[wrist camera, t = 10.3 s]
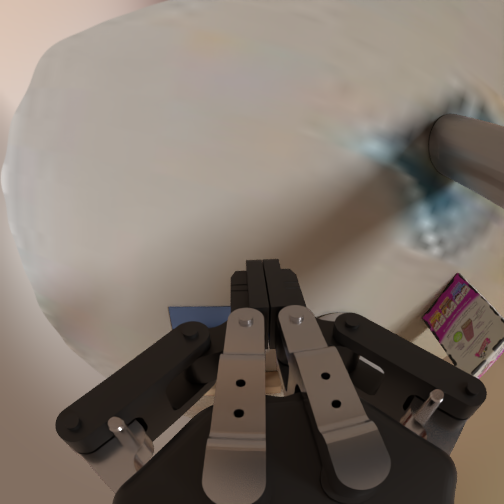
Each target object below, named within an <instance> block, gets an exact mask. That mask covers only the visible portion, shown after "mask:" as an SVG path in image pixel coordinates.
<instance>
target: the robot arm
mask: <svg viewBox="0 0 504 504" xmlns="http://www.w3.org/2000/svg"><path fill="white" fill-rule="evenodd" d="M429 153H430V157H431V161H432V163H433V165H434V167H435V168H436V170H437V171H438V172H439V173H441V174H442V175H444V176H446V177H448V178H450V179H452V180H454V181H456V182H458V183H460V184H461V185H463V186H465V187H467V188H469V189H471V190H472V191H474V192H476V193H478V194H480V195H481V196H483V197H485V198H487V199H488V200H490V201H492V202H493V203H495V204H497V205H498V206H500V207H502V208H503V209H504V126H500V125H497V124H493V123H490V122H486V121H482V120H478V119H474V118H470V117H466V116H461V115H457V114H446V115H444V116H442V117H440V118H439V119H438V120H437V121H436V123H435V125H434V126H433V128H432V131H431V134H430V139H429ZM268 340H269V348H270V349H276V366H277V370H278V374H279V377H280V381H281V385H282V389H283V393H284V397H277V396H269V395H265V349H268ZM360 356H362V357H363V358H365V359H367V360H368V361H370V362H372V363H373V364H375V365H377V366H378V367H380V368H381V369H382V370H383V372H384V373H382V372H380V371H379V370H377V369H375V368H374V367H372V366H370V365H369V364H367V363H365V362H364V361H362V360H360V359H359V358H360ZM216 381H217V382H216ZM215 383H216V389H215V397H214V405H212V406H210V407H208V408H206V409H204V410H202V411H201V412H199V413H198V414H197V415H195V416H194V417H193V418H192V419H191V420H190V421H189V422H188V423H187V424H186V425H185V426H184V427H183V428H182V429H181V430H180V431H179V432H178V433H177V434H176V435H175V436H174V437H173V438H172V439H171V440H170V441H169V442H168V443H167V444H166V445H165V446H164V447H163V448H162V449H161V450H160V451H159V452H158V453H157V454H155V456H153V457H152V455H153V453H154V445H153V441H154V440H155V439H156V438H157V437H159V436H160V435H161V434H162V433H163V432H164V431H165V430H166V429H168V428H169V427H170V426H171V425H172V424H173V423H174V422H175V421H176V420H178V419H179V418H180V417H181V416H182V415H183V414H184V413H185V412H186V411H187V410H189V409H190V408H191V407H192V406H193V405H194V404H195V403H196V402H197V401H198V400H199V399H200V398H201V397H202V396H203V395H205V394H206V393H207V392H208V391H209V390H210V389H211V388H212V387H213V386H214V385H215ZM486 393H487V392H486V388H485V386H484V384H483V383H482V382H481V381H480V380H479V379H478V378H476V377H474V376H472V375H470V374H469V373H467V372H465V371H463V370H461V369H459V368H457V367H456V366H454V365H452V364H450V363H448V362H446V361H444V360H443V359H441V358H439V357H437V356H435V355H433V354H431V353H430V352H428V351H426V350H424V349H422V348H420V347H418V346H417V345H415V344H413V343H411V342H409V341H407V340H405V339H404V338H402V337H400V336H398V335H396V334H394V333H392V332H391V331H389V330H387V329H385V328H383V327H381V326H380V325H378V324H376V323H374V322H372V321H370V320H368V319H367V318H365V317H363V316H361V315H359V314H356V313H344V314H341V315H339V316H338V317H337V318H336V319H335V321H328V320H322V319H319V318H316V317H315V316H314V314H313V313H312V311H311V310H310V309H308V308H306V304H305V301H304V298H303V295H302V292H301V289H300V286H299V283H298V279H297V276H296V274H295V273H294V272H293V271H291V270H290V269H281V268H280V264H279V260H278V259H265V260H246V271H235V273H234V274H233V275H232V277H231V313H230V315H229V317H228V320H227V321H226V322H224V323H223V324H221V325H219V326H216V327H212V328H208V327H207V326H206V325H205V324H203V323H201V322H197V321H189V322H185V323H182V324H180V325H179V326H177V327H176V328H174V329H173V330H172V331H170V332H169V333H168V334H166V335H165V336H164V337H162V338H161V339H160V340H158V341H157V342H156V343H154V344H153V345H152V346H150V347H149V348H148V349H146V350H145V351H144V352H142V353H141V354H140V355H138V356H137V357H136V358H134V359H133V360H132V361H130V362H129V363H127V364H126V365H125V366H123V367H122V368H121V369H119V370H118V371H117V372H115V373H114V374H113V375H111V376H110V377H108V378H107V379H106V380H104V381H103V382H102V383H100V384H99V385H97V386H96V387H95V388H93V389H92V390H91V391H89V392H88V393H86V394H85V395H84V396H82V397H81V398H80V399H78V400H77V401H75V402H74V403H73V404H71V405H70V406H69V407H67V408H66V409H64V410H63V411H62V412H61V413H60V414H59V416H58V417H57V420H56V431H57V433H58V435H59V436H60V437H61V438H62V439H63V440H64V441H65V442H66V443H67V444H68V445H69V446H70V448H71V449H72V450H73V451H74V452H75V453H77V454H78V455H79V456H80V457H81V458H82V459H84V460H85V461H86V462H87V463H88V464H89V465H90V466H91V467H92V469H93V470H94V471H95V472H96V473H97V474H98V476H99V477H100V478H101V479H102V480H103V481H104V482H105V483H106V484H107V486H108V487H109V488H110V489H111V490H112V491H113V492H114V493H115V497H114V499H113V504H454V496H455V489H456V483H457V471H456V467H455V464H454V462H453V460H452V459H451V457H450V454H451V452H452V450H453V448H454V446H455V444H456V442H457V440H458V438H459V436H460V434H461V431H462V429H463V427H464V425H465V423H466V421H467V420H468V419H469V418H470V417H471V416H472V415H473V414H474V413H475V411H476V410H477V409H478V408H479V407H480V406H481V404H482V403H483V402H484V401H485V399H486V395H487V394H486ZM151 457H152V458H151ZM150 458H151V459H150Z"/></svg>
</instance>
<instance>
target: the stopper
mask: <svg viewBox="0 0 504 504" xmlns="http://www.w3.org/2000/svg"><path fill="white" fill-rule="evenodd" d="M216 382H217V381H216ZM215 389H216V383H215V385H214V386H213V387H212V388H211V389H210V390H209V391H208V392H207V393H206V394H205V395H203V396H215ZM280 392H281V381H280V377H279V374H278V371H271V372H265V394H269V393H280Z"/></svg>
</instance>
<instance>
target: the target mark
mask: <svg viewBox="0 0 504 504" xmlns="http://www.w3.org/2000/svg"><path fill="white" fill-rule="evenodd" d="M169 313H170V318H171V323H172V328H173V329H174V328H176V327H177V326H179V325H180V324H182V323H185V322H189V321H197V322H201V323H203V324H205V325H206V326H207V327H208V328H212V327H216V326H219V325H221V324H223V323H224V322H226V321H227V320H228V317H229V315H230V313H231V306H224V307H169Z"/></svg>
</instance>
